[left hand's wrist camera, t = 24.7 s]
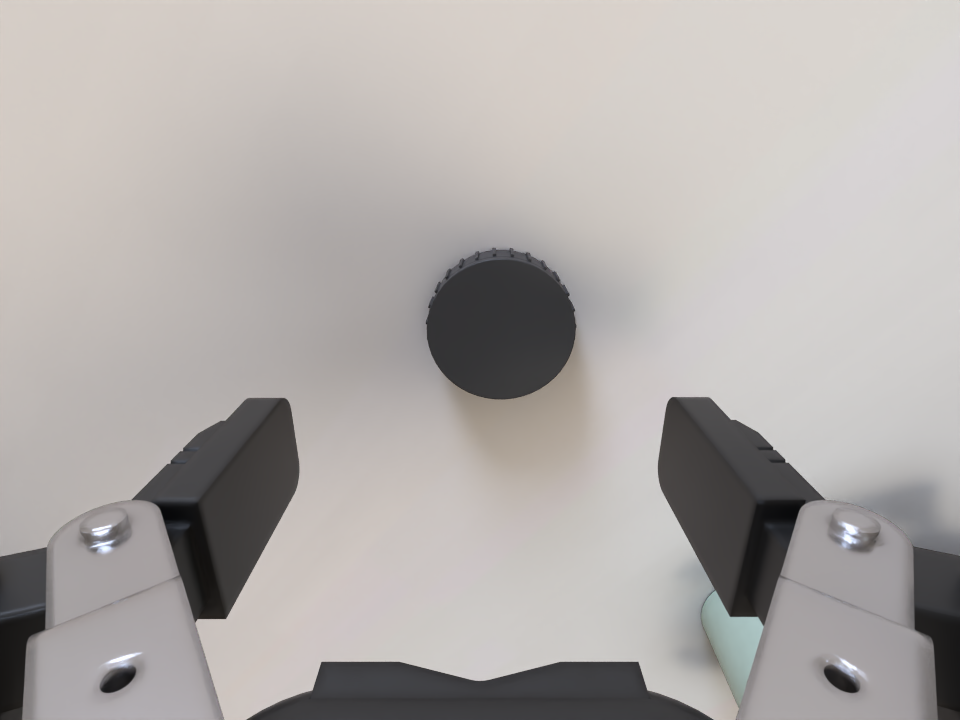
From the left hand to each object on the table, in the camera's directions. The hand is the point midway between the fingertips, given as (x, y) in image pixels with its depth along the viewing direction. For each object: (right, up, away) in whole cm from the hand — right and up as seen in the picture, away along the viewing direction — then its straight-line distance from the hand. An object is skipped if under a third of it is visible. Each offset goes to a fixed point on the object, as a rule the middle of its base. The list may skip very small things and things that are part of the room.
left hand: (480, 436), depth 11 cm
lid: (+1, +3, +7) cm, 7 cm away
